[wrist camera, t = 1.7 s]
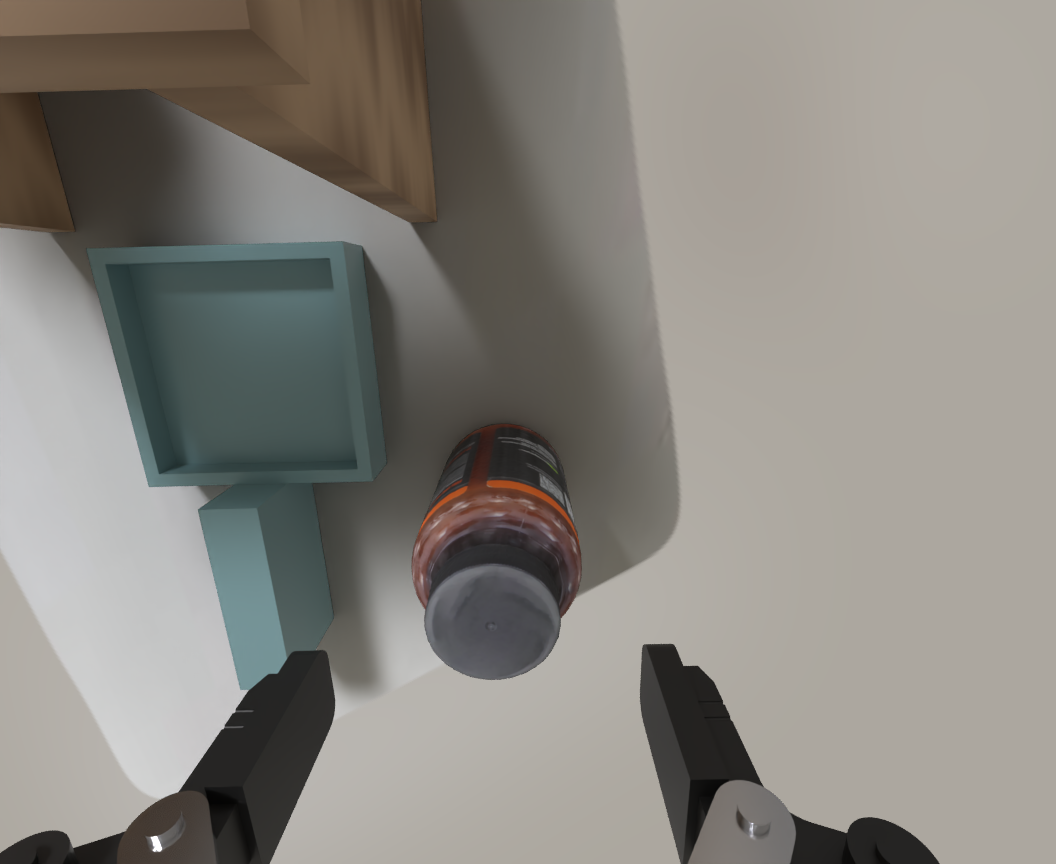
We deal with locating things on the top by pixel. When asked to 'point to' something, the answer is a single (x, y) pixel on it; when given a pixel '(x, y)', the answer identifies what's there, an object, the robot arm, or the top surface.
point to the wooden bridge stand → (228, 88)
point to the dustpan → (250, 412)
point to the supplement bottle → (497, 554)
